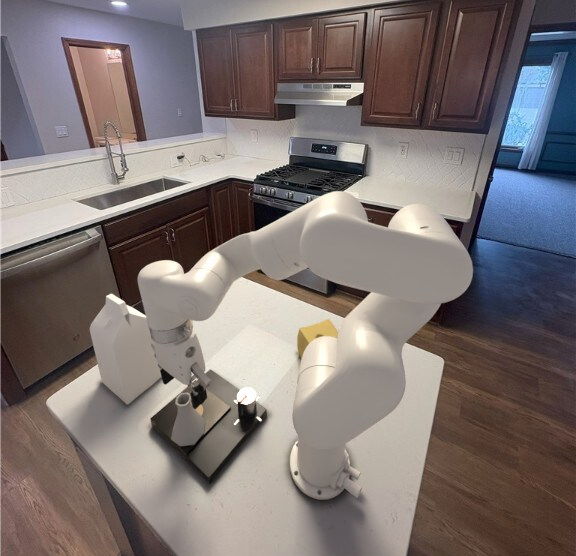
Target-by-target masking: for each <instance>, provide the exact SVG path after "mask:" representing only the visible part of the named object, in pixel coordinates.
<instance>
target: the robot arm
mask: <svg viewBox="0 0 576 556" xmlns="http://www.w3.org/2000/svg"><path fill="white" fill-rule="evenodd" d="M368 219H369V218H368V215H367V212H366V209H365V207H364V206H363V204H362V203H361V201H360V200H359V199H358V198H357V197H356V196H355V195H353V194H351V193H350V192H346V191H341V190H335V191H330V192H327V193H325V194H322V195H320V196H318V197H316V198H315V199H313V200H310V201H309V202H307V203H306V204H304V205H302V206H300V207H299V208H296V209H295V210H293V211H291V212H289V213H287V214H285V215H284V216H282V217H279V218H278V219H277V220H275V221H273V222H271V223H269V224H267V225H265V226H263V227H262V228H260V229H258V230H255V231H250V232H247V233H243V234H240V235H237V236H235V237H233V238H231V239H229V240H227V241H226V242H224V243H222V244H220V245H218V246H216V247H215V248H213V249H212V250H210V251H208V252H207V253H206V254H204V256H202V257H201V258H200V259H199V260H198V261H197V262H196V263H195V264H194V266H193V267H192V268H191V269H190V270H189V271H187V272H186V273H185V271H184V268H183V267H182V265H181V264H180V263H179V262H177V261H174V260H170V259H164V260H158V261H157V260H156V261H154V262H151V263H149V264H146V265H145V266H144V267H143V268H141V270H139V273H138V275H137V286H138V289H139V293H140V297H141V302H142V306H143V311H144V315H145V316H146V319H147V323H148V327H149V331H150V335H151V339H152V341H153V343H152V344H151V346H152V348H153V350H154V352H155V358H156V359H157V362H158V367H159V368H160V369H161V368H162V369H161V370H160V373H161V380H162V381H161V382H162V384H164V385H168V384H169V383H170V382H171V381H172V380H174V379H175V380H176V381H178V382H180V383H181V384H182V385H185V386H187V387H189V388H190V390H191V394H190V396H191V401H192V406H193V408H194V409H196V408H198V407H199V406H200V405H201V404H203V403H204V402H205V400H206V399H207V392H206V388H207V387H209V384H210V382H211V380H210V378H209V377H208V376H207V375H206V374H205V373H206V372H205V371H206V363H205V359H204V353H203V349H202V346H201V342H200V340H199V337H198V336H197V333H196V331H195V330H194V323H193V322H204V321H207V320H208V319H210V318H211V317H212V316H213V315H214V314H215V313H216V311H217V309H218V308H219V306H220V305H221V303H222V302H223V300H224V299H225V296H226V294H227V293H228V292H229V291H230V289H231V287H232V285H233V284H234V283H235V282H236V281H237V280H239V279H241V278H244V277H245V276H246V275H248V274H251V273H253V272H255V271H258V270H261V271H262V272H263V273H264V274H265V275H266V276H267V277H268V278H269V279H272V280H275V281H282V280H285V279H288V278H289V277H292V276H294V275H296V274H298V273H300V272H302V271H304V270H306V269H309V270H310V271H311V272H312V273H313V274H315V275H316V276H318V277H320V278H321V279H324V280H327V281H329V282H333V283H335V284H339V285H342V286H345V287H349V288H353V289H357V290H360V291H365V292H370V293H369V294H367V296H366V297H365V298H364V299H363V300H361V301H360V303H358V304H357V306H355V307H354V308H353V309H352V310H350V312H349V313H348V314H347V315H346V316H344V318H343V319H342V320H341V322H340V324H339V326H338V329H337V331H338V335H337V338H335V337H331V336H322V337H319V338H316V339H314V340H313V341H312V342H310V343H309V345H308V346H307V347H306V349H305V351H304V353H303V356H302V359H301V358H300V359H301V360H300V365H299V371H298V375H297V381H296V389H295V395H294V400H293V406H292V414H291V415H292V416H291V417H292V424H293V428H294V430H295V433H296V435H297V440H296V441H295V443H294V444H293V446H292V448H291V451H290V456H289V471H290V474H291V478H292V479H293V482H294V484H295V485H296V486H297V488H298V489H299V490H300V491H301V492H302V493H303V494H305V495H306V496H308V497H309V498H312V499H314V500H319V501H324V500H325V501H327V500H331V499H334V498H335V497H338V496H339V495H340V494H341V493H342V492H343V491H345V490H346V491H347V492H348V493H350V494H351V495H352V496H354V497H355V498H356V499H359V496H360V494H361V491H362V486H360V485H359V484H358V483H357V482H355V481H354V480H356V481H359V479H360V476H361V472H360V471H359V470H358V469H356V468H354V467H352V465H351V461H350V454H349V453H348V452H347V449H346V444H347V443H350V442H351V441H353V440H354V439H355V438H357V437H359V436H360V435H361V434H363V433H364V432H366V431H367V430H368V429H370V428H371V427H373V426H374V425H376V424H377V423H379V422H380V421H382V420H383V419H384V418H386V417H387V416H389V415H390V414H391V413H392V412H394V410H396V408H397V407H398V406H399V405H400V403H401V401H402V400H403V398H404V394H405V392H406V385H407V383H406V382H407V380H406V371H405V365H404V360H403V349H404V345H405V344H406V343H407V342H408V341H409V340H411V338H412V337H413V336H414V335H415V334H416V333H417V332H418V331H420V330H421V328H423V327H424V326H425V325H426V324H427V323H428V322H429V321H430V320H431V319H432V318H433V317H434V315H436V313H437V311H438V310H439V308H440V307H441V305H442V304H445V303H448V302H451V301H454V300H455V299H457V298H459V297H460V296H461V295H463V294H464V293H465V292H466V291H467V290H468V288H469V286H470V285H471V282H472V280H473V276H474V275H473V274H474V266H473V261H472V258H471V256H470V254H469V252H468V250H467V249H466V247H465V245H464V244H463V242H462V241H461V240H460V238H459V237H458V235H456V233H455V232H454V230H453V228H452V227H451V225H450V224H449V223H448V222H447V220H446V219H445V218H444V216H443V215H442V214H441V213H440V212H438V210H436V209H435V208H433V207H432V206H429V205H426V204H423V203H412V204H411V203H410V204H408V205H405V206H404V207H402V208H401V209H399V210H398V211H397V212H396V213H394V215H393V216H392V217H391V219H390V221H389V223H388V226H383V225H380V224H376V223H373V222H370V221H369V220H368ZM195 380H199V382H200V384H198V385H197V386H196V387H194V385H193V382H194V381H195ZM350 476H351V477H352V478H353V479H354V480H351V479H350Z"/></svg>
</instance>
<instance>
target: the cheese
mask: <svg viewBox="0 0 576 556" xmlns="http://www.w3.org/2000/svg"><path fill="white" fill-rule="evenodd" d="M337 335H338V329H337V328H336V326H335V325H334V324H333V322H332V321H331V320H330V319H329V318H328V319H325V320H323V321H320V322H316V323H313V324H310V325H307V326H302V327H299V329H298V332H297V336H296V337H297V338H296V347H297V348H296V349H297V352H298V356H299V357H300V359H302V356H303V353H304V351H305V349H306V347H307V346H308V345H309V343H310V342H312V341H313V340H314V339H316V338H319V337H322V336H331V337H335V338H337Z"/></svg>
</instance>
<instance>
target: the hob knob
mask: <svg viewBox="0 0 576 556" xmlns="http://www.w3.org/2000/svg"><path fill="white" fill-rule="evenodd" d="M239 390H240V391H239V392H238V394H237V404H238V414H239V416H240V417H241V418H243V419H250V418H252V417H253V416H254V415H255V414H256V410H257V407H256V402H257V401H256V399H257V392H256V390H255V389H254V388H252V387H243V388H241V389H239Z"/></svg>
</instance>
